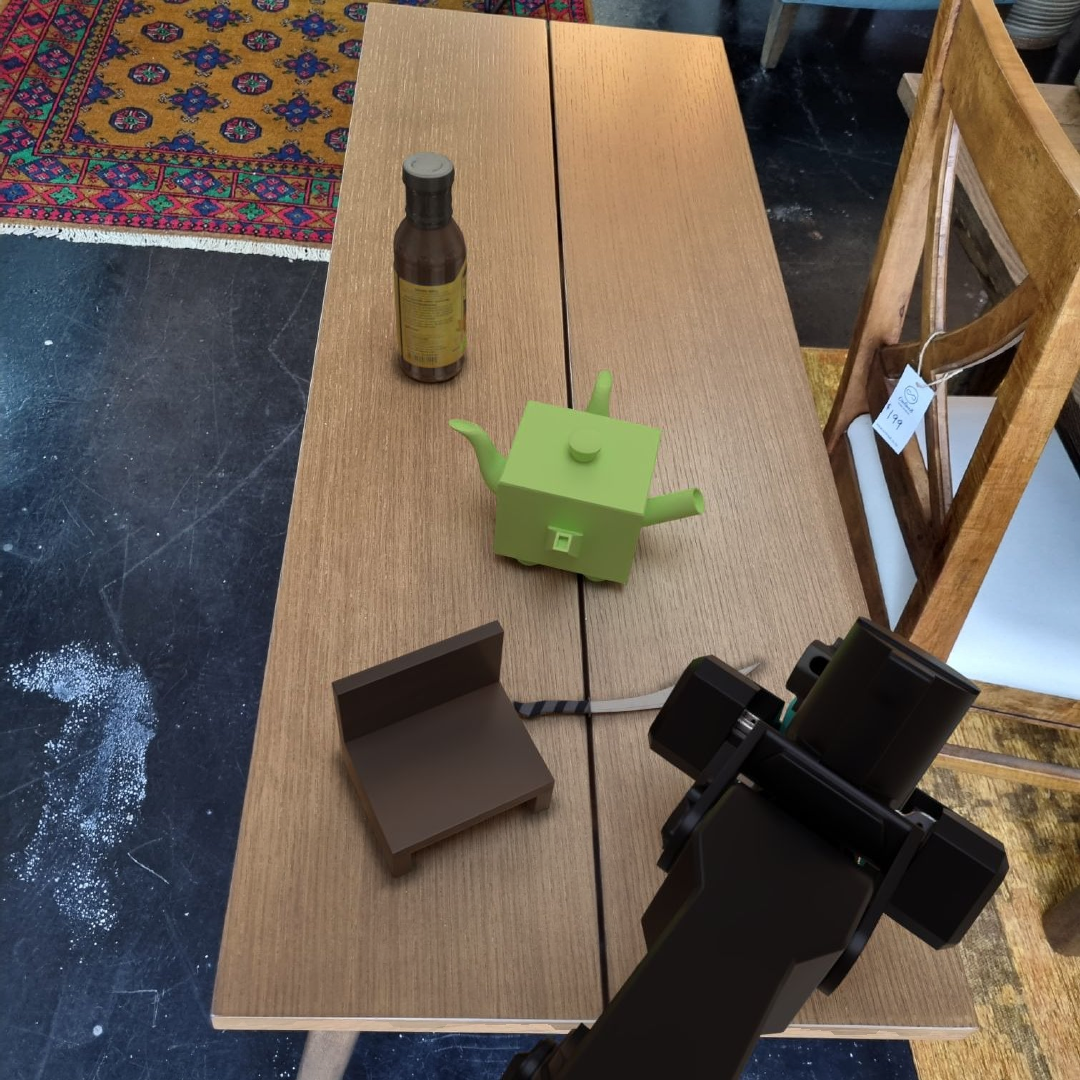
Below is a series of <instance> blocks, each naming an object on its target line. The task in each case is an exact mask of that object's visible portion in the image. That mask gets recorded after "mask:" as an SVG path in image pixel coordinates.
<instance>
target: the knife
mask: <svg viewBox="0 0 1080 1080" xmlns="http://www.w3.org/2000/svg"><path fill="white" fill-rule="evenodd" d="M760 664H761V661H759V662H756V663H755V664H752V665H750V666H747V667H744V668H742V669H736V670H737V671H739V672H740V673H742V674H744V675H745V676H747V675H748V674H749V673H750V672H752V671H753V670H754V669H756V667H758V666H759V665H760ZM675 685H676V683H675V684H673V685H671V686H669V687H666V688H663V689H661V690H657V691H655V692H652V693H649V694H643V695H638V696H634V697H627V698H620V699H619V698H618V699H610V700H608V699H607V700H591V697H590V696H588V697H587V699H586V700H576V699H575V700H565V699H564V700H562V699H561V700H560V699H559V700H558V699H556V700H555V699H553V700H550V699H549V700H548V699H547V700H546V699H544V700H539V701H531V702H530V701H529V702H519V701H516V700H512V704H513V706H514V708H515V710H516V712H517V713H518V715H520V716H522V717H524V718H527V719H530V718H534V717H537V716H541V715H547V714H587V716H588V718H591V717H592V716H591V715H592V714H600V713H613V712H628V711H629V712H630V711H638V710H639V711H640V710H641V711H642V710H650V709H657V708H658V709H659V708H662V706H663V705H664V703H665V701H666V700H667V698H668V697H669V695H670V693H671V692H672V690H673V688H674V687H675Z"/></svg>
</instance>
